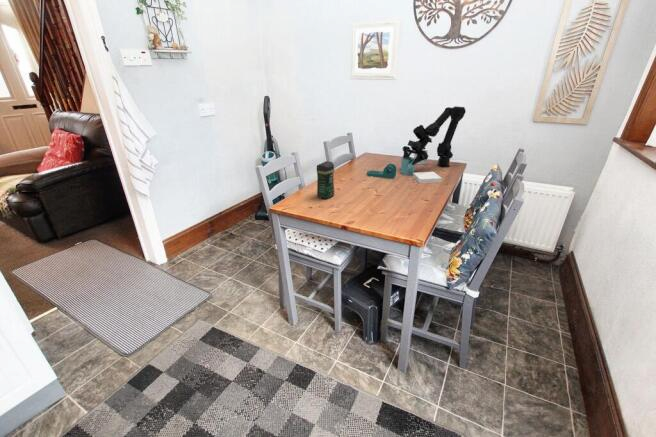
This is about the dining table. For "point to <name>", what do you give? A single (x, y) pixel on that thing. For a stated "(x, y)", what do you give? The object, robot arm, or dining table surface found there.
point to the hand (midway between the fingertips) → (407, 163)
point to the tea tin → (407, 166)
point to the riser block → (427, 177)
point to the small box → (422, 160)
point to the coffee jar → (325, 179)
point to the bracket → (384, 172)
